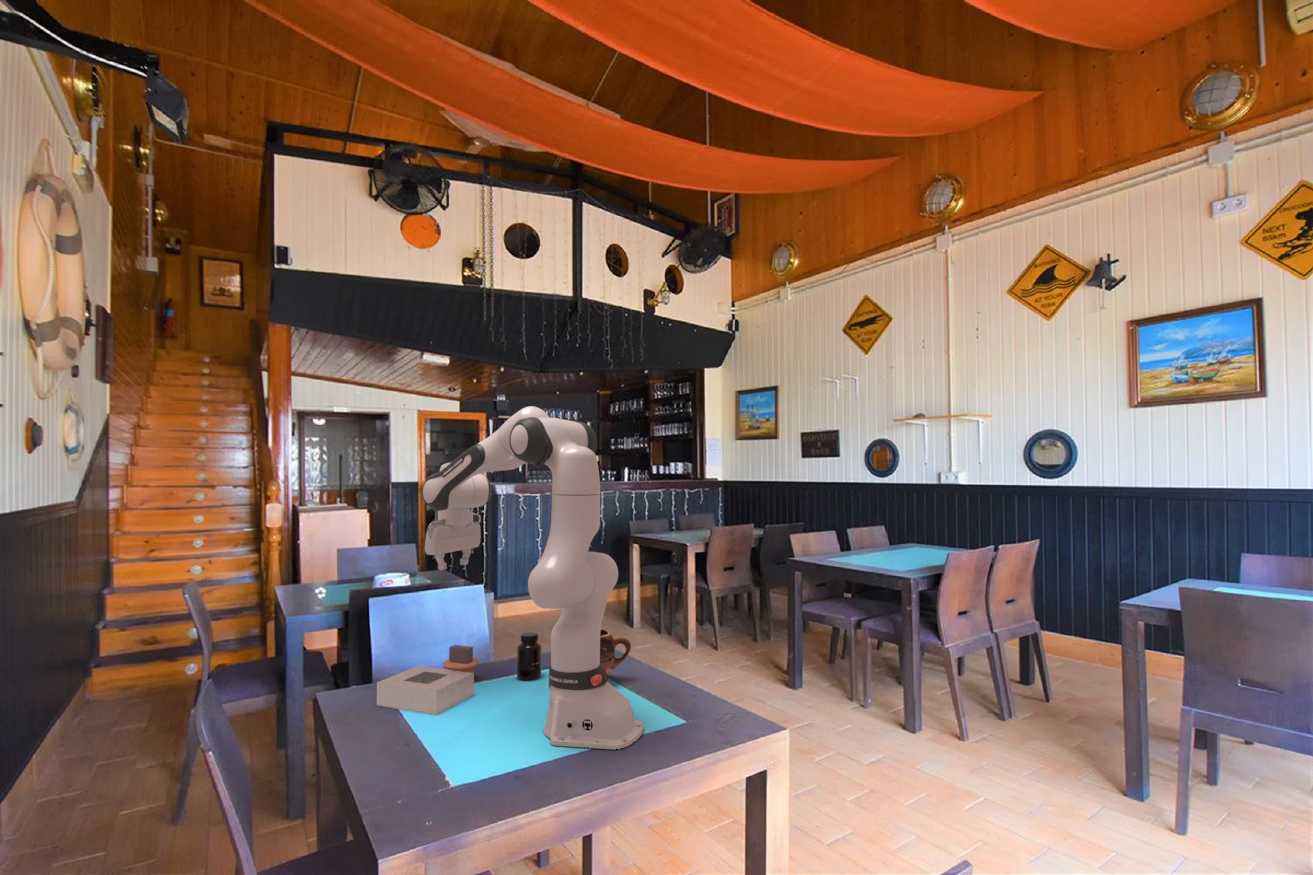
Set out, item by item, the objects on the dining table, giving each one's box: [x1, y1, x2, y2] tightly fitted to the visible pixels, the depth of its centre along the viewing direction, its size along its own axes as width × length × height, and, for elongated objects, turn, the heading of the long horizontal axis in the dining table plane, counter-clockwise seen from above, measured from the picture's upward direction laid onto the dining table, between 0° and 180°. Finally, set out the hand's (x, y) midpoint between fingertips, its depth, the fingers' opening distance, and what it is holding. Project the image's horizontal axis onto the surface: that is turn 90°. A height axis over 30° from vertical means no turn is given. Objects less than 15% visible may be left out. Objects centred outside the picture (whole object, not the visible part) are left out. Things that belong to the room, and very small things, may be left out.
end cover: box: [442, 644, 479, 674], centre depth 175 cm, size 9×9×10 cm
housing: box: [376, 665, 475, 716], centre depth 159 cm, size 18×14×7 cm
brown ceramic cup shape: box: [600, 628, 632, 682], centre depth 176 cm, size 20×12×14 cm, turn 113°
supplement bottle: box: [516, 632, 542, 681], centre depth 181 cm, size 7×7×12 cm
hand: (453, 567), depth 182 cm, fingers open, 8 cm apart
